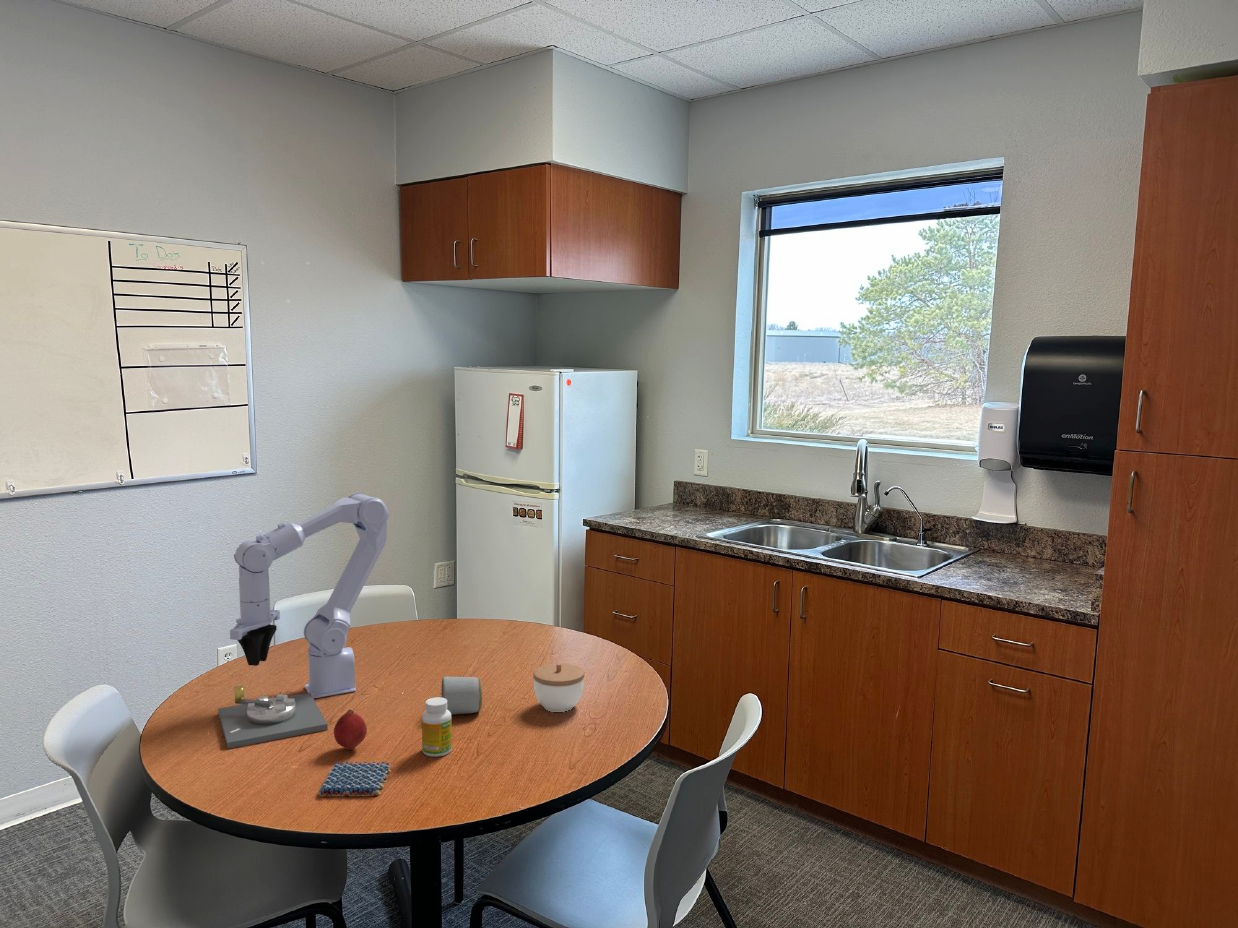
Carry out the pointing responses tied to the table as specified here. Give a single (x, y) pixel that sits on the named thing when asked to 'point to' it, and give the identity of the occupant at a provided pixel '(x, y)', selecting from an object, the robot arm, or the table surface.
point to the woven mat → (355, 779)
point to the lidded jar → (558, 686)
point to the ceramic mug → (462, 694)
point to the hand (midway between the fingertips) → (257, 662)
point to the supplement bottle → (436, 728)
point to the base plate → (247, 733)
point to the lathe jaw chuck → (266, 708)
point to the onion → (350, 730)
